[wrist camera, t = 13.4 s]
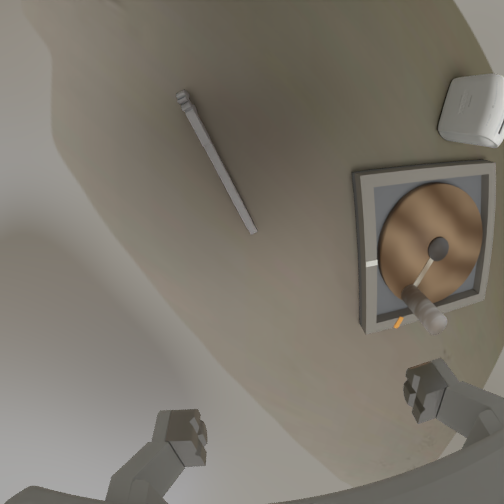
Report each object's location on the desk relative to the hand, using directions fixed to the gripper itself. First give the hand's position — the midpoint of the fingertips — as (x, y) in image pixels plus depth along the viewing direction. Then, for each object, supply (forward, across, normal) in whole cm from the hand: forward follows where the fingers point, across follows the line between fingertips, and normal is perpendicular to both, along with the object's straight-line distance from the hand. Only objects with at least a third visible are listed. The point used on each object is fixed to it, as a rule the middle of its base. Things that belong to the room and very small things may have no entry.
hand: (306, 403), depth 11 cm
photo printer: (+33, -31, -10) cm, 47 cm away
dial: (+32, -25, +10) cm, 42 cm away
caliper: (+34, +4, -6) cm, 34 cm away
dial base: (+33, -25, +10) cm, 43 cm away
